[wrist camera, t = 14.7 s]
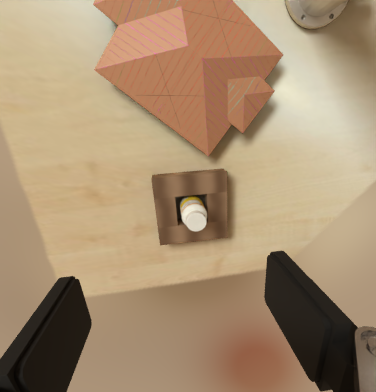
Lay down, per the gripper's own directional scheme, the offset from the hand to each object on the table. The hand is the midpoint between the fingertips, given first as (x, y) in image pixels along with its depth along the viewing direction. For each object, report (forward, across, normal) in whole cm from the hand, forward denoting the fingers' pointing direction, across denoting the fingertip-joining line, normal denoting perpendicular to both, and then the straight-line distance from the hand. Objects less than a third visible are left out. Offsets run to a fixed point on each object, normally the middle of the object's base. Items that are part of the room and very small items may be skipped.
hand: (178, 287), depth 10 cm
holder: (+36, -4, +10) cm, 38 cm away
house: (+37, -5, -19) cm, 42 cm away
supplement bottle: (+36, -4, +10) cm, 38 cm away
